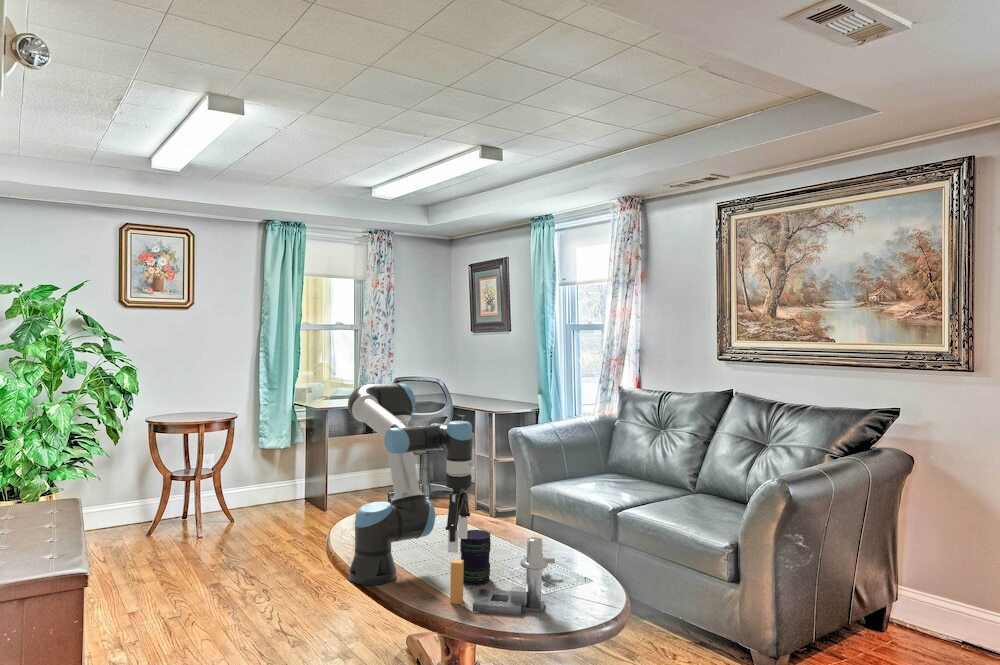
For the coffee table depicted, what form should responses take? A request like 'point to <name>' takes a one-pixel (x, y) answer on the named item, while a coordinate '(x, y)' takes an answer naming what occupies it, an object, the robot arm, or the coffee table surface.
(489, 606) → the rosette node
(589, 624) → the coffee table surface
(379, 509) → the robot arm
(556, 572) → the coffee table surface
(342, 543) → the coffee table surface
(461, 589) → the tan rectangular block
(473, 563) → the storage jar
